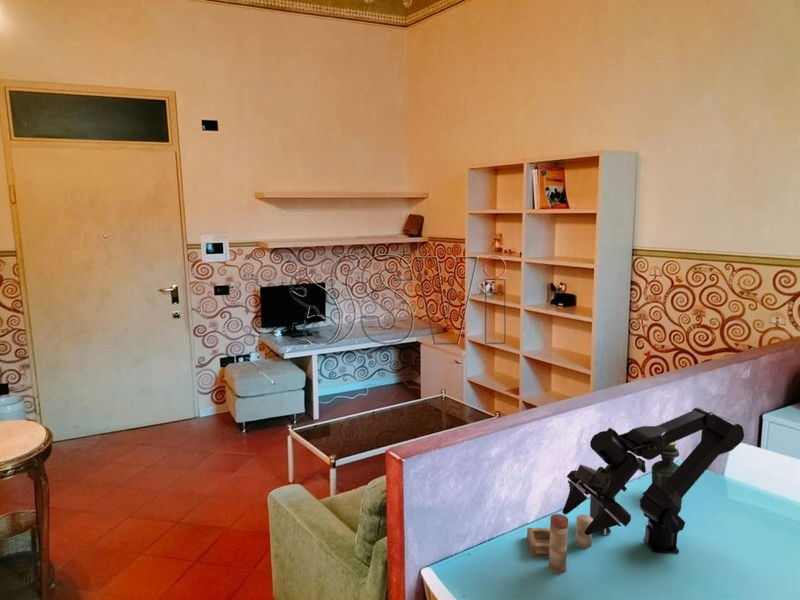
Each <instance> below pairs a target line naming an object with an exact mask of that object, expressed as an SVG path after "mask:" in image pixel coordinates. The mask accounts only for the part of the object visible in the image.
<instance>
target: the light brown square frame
mask: <svg viewBox="0 0 800 600" xmlns="http://www.w3.org/2000/svg"><path fill="white" fill-rule="evenodd" d="M526 532H527V534H526V540H527V545H528V548H529V553H530V557H544V558H545V557H547V558H549V545H550V527H549V528H548V527H544V528H543V527H540V528H539V527H527V531H526Z"/></svg>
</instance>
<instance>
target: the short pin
mask: <svg viewBox="0 0 800 600" xmlns="http://www.w3.org/2000/svg"><path fill="white" fill-rule="evenodd" d="M592 521H593V519H592V518H591V517H590V515H588V514H578V515H577V516H576V519H575V538H574V539H575V540H574V543H575V545H576V546H577V547H578V546H579V547H578V548H580V547H581V548H580V549H584V548H587V549H590V548H591V547H592V546H593V545H592V544H593V534H591V535H588V536H587V535H586V534H585V533H584V532H585V530H586V529H587V527H588V526H589V525H590V523H591V522H592ZM591 545H592V546H591ZM589 547H590V548H589Z"/></svg>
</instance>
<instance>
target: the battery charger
mask: <svg viewBox="0 0 800 600" xmlns="http://www.w3.org/2000/svg"><path fill="white" fill-rule="evenodd" d="M595 493H596V492H595ZM600 498H602V499H603V498H604V497H603V496H601V497H600ZM613 499H614V500H615V501H616V496H615V497H614V498H613ZM589 500H590V501H589V516H590V517H591V518H592V519H594V518H595V517H596V516H597V514H598V510H599V506H601V507H602V508H603V509H604V510H605V509H606V508H604V507H603V505H602V504H601V503H600V502H599V501H598V500H596V499H595V498H594V497H593V496H591V495H590V497H589ZM598 533H599V534H600V535H604V536H605V535H609V534H611V533H612V530H611V527H610V528H606V529H603V530H601V531H598Z"/></svg>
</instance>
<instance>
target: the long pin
mask: <svg viewBox="0 0 800 600" xmlns="http://www.w3.org/2000/svg"><path fill="white" fill-rule="evenodd" d="M549 519H550V520H549V521H550V523H549V528H550V545H549V557H548V570H549V569H550V570H551V571H550V570H549V571H550V572H551V573H553V572H554V573H553V574H556V573H562V574H565V573H566V571H567V557H568V555H567V553H568V531H569V530H568V529H569V517H568V516H567V515H564V514H561V513H555V514H552V515H550V518H549Z"/></svg>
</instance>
